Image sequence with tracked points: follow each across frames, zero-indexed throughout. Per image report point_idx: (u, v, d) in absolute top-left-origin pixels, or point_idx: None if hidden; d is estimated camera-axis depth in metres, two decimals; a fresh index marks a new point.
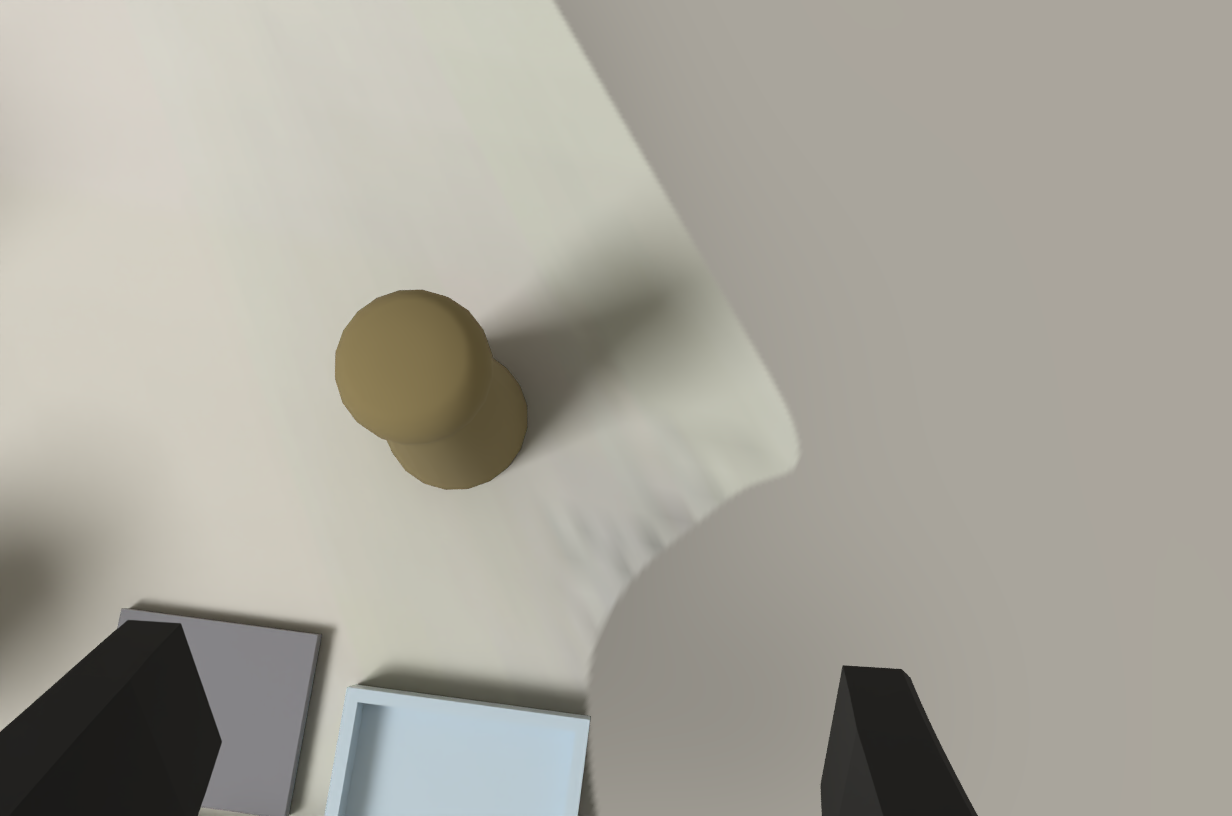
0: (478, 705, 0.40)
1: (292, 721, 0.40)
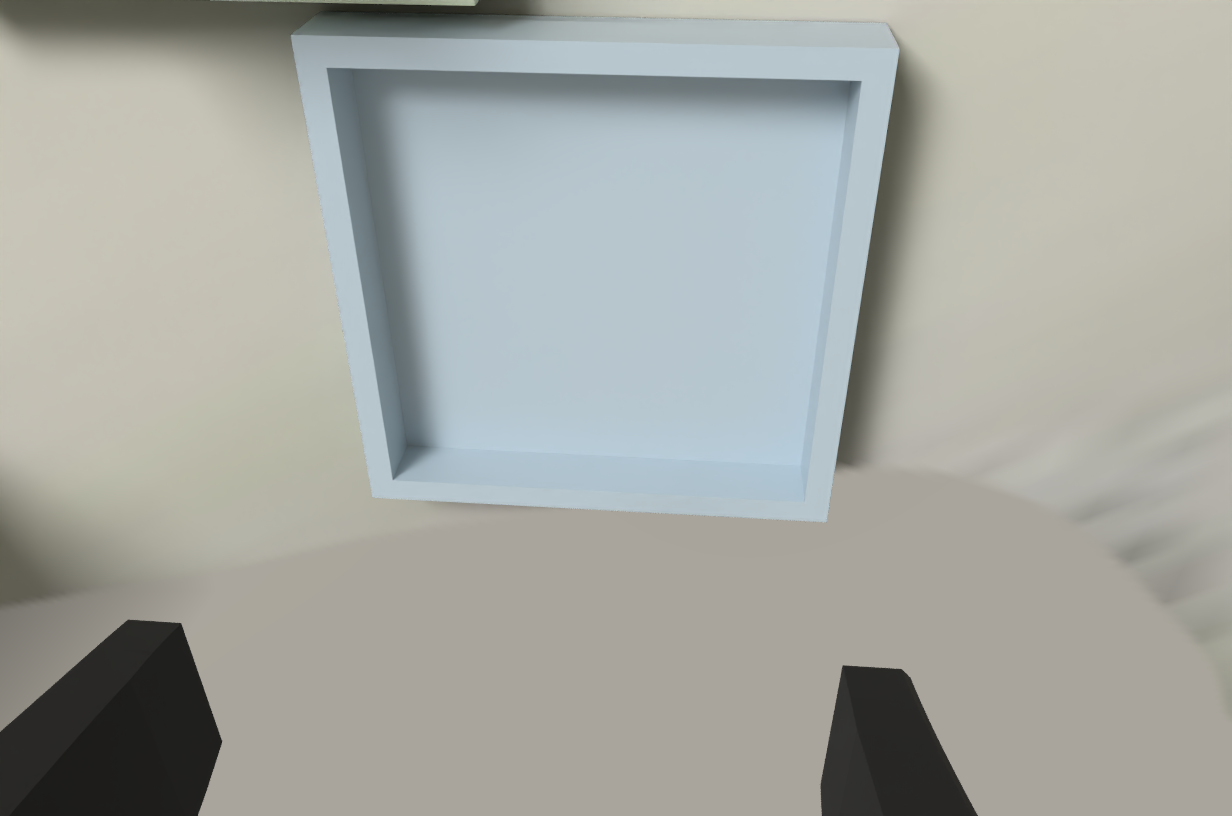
0: (852, 338, 0.19)
1: None
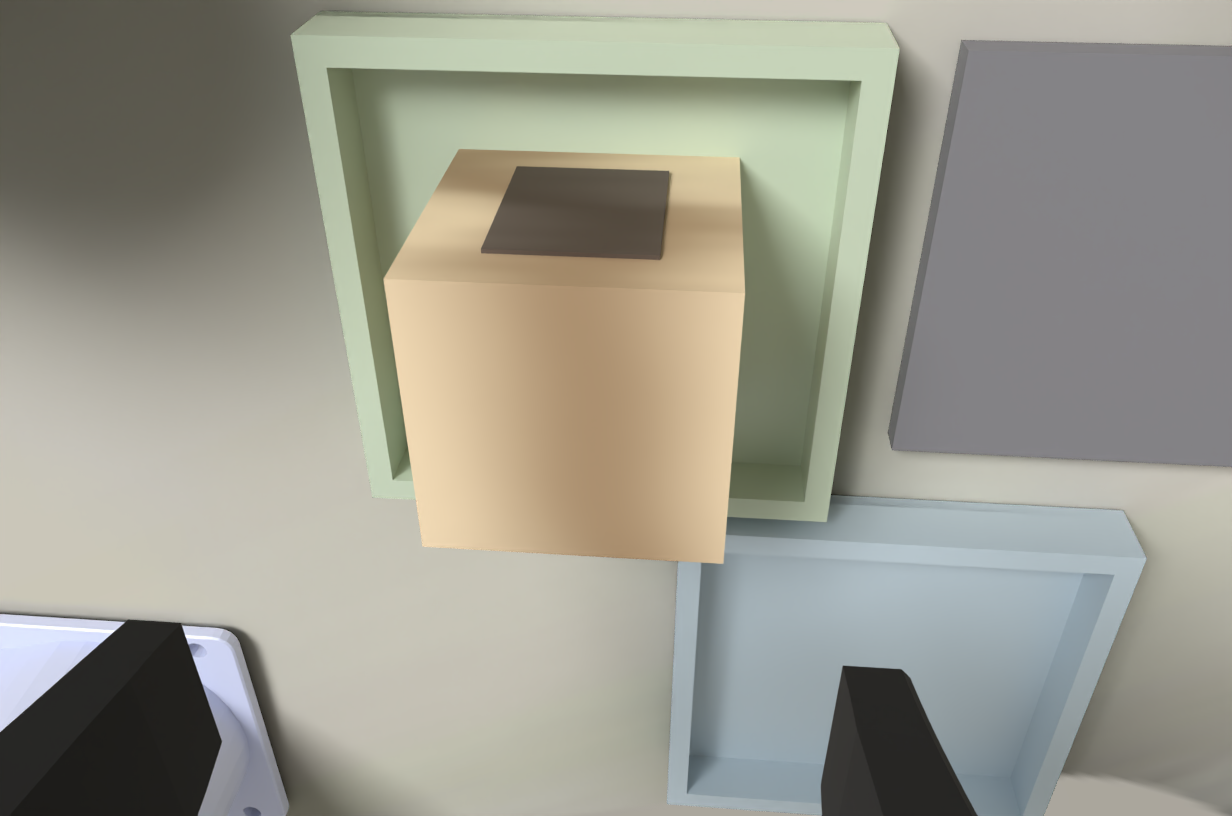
0: (1079, 719, 0.24)
1: (1077, 445, 0.20)
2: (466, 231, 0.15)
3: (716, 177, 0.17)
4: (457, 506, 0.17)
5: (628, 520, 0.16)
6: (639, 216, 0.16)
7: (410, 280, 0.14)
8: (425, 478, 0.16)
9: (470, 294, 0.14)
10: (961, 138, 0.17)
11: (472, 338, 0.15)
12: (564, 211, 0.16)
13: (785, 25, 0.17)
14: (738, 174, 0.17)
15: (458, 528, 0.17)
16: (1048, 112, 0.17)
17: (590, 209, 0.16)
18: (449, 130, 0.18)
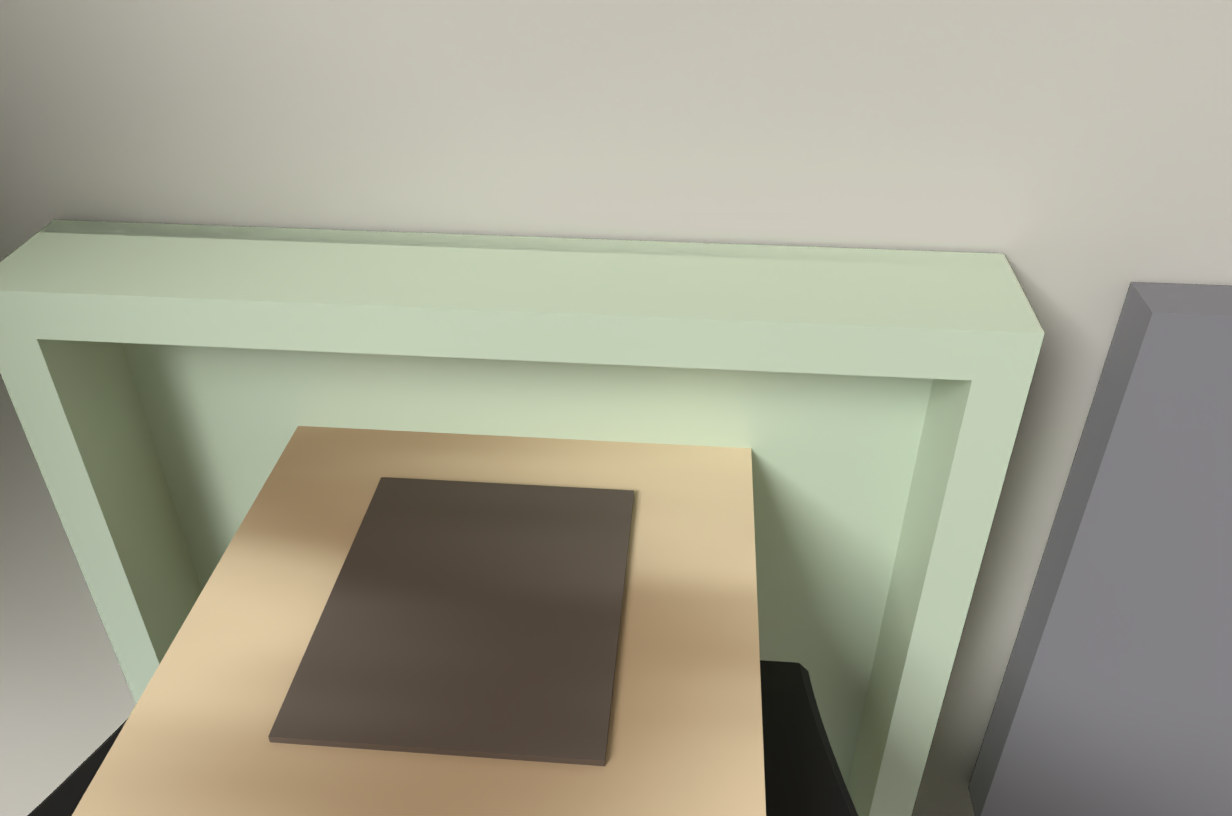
0: None
1: None
2: (258, 667, 0.09)
3: (713, 503, 0.10)
4: None
5: None
6: (574, 627, 0.09)
7: None
8: None
9: None
10: (1126, 440, 0.10)
11: None
12: (442, 612, 0.09)
13: (831, 261, 0.10)
14: (750, 495, 0.10)
15: None
16: None
17: (489, 607, 0.09)
18: (279, 400, 0.11)
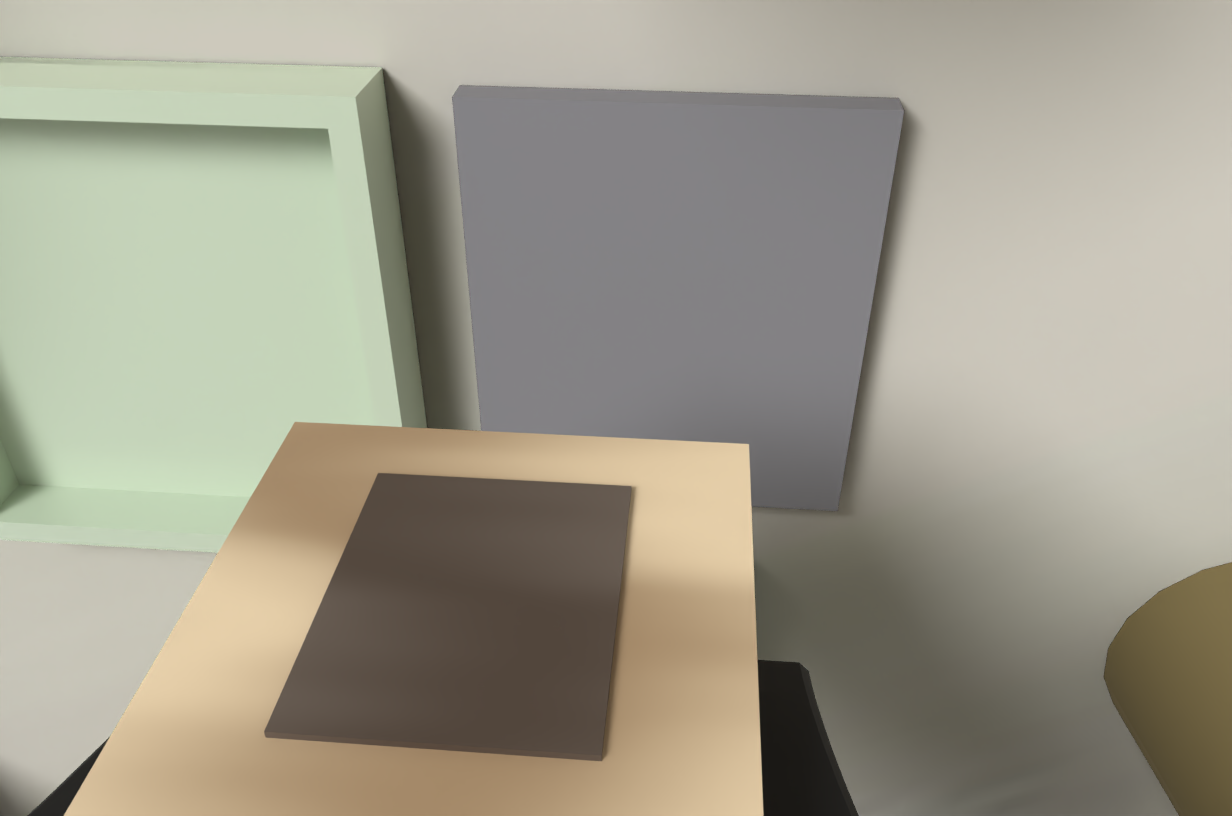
0: None
1: None
2: (253, 663, 0.08)
3: (710, 499, 0.10)
4: None
5: None
6: (571, 622, 0.09)
7: None
8: None
9: None
10: (469, 184, 0.17)
11: None
12: (438, 607, 0.09)
13: (274, 70, 0.16)
14: (747, 490, 0.10)
15: None
16: (547, 158, 0.17)
17: (485, 602, 0.09)
18: None
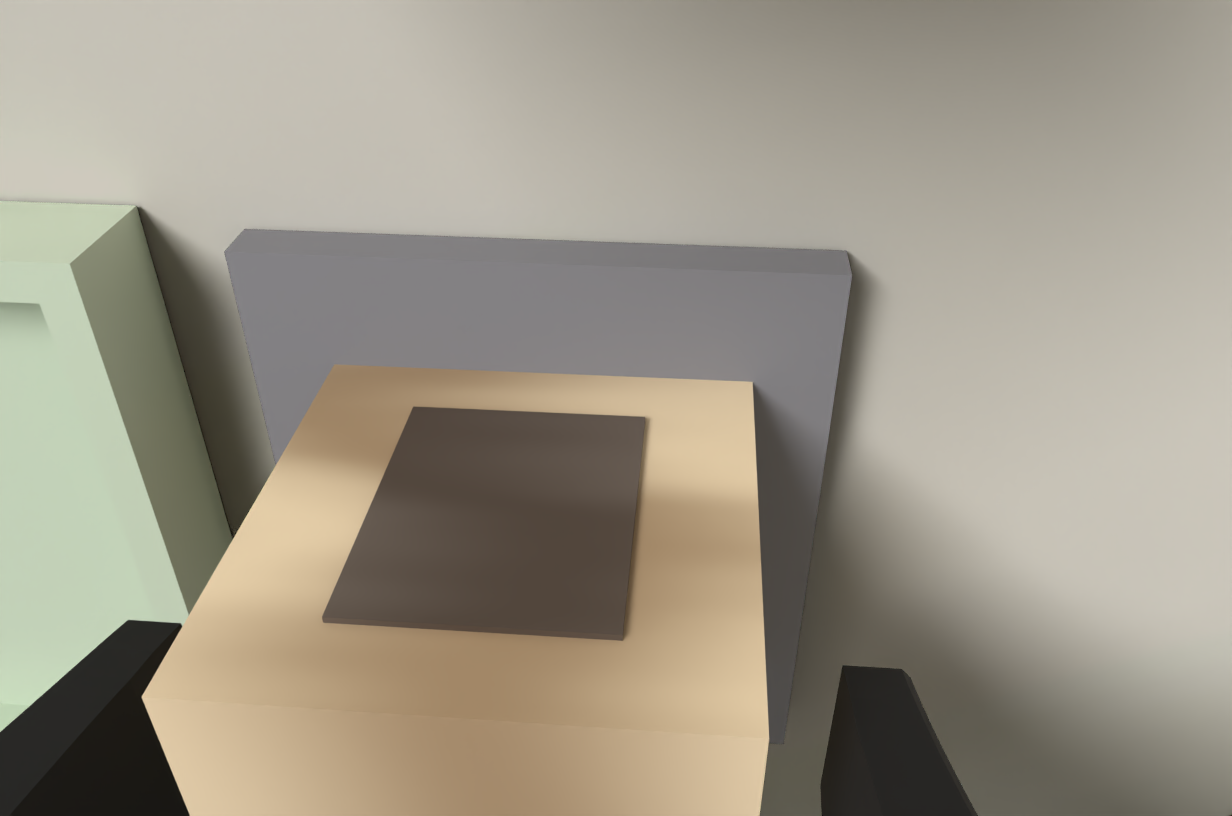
0: None
1: None
2: (307, 563, 0.09)
3: (717, 428, 0.11)
4: None
5: None
6: (593, 529, 0.10)
7: (188, 699, 0.08)
8: None
9: (292, 722, 0.08)
10: (262, 360, 0.12)
11: (305, 777, 0.09)
12: (473, 517, 0.10)
13: None
14: (751, 420, 0.11)
15: None
16: (364, 330, 0.12)
17: (517, 512, 0.10)
18: None
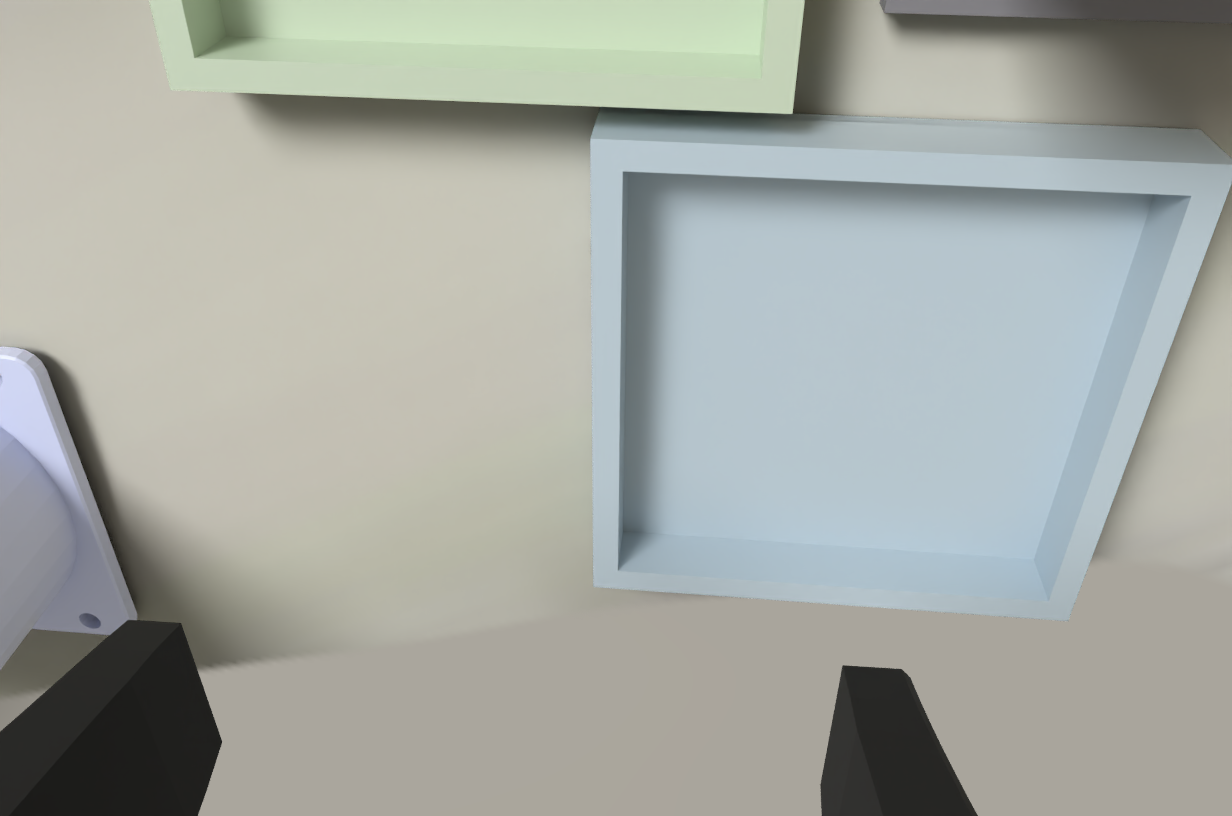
0: (1130, 444, 0.18)
1: None
2: None
3: None
4: None
5: None
6: None
7: None
8: None
9: None
10: None
11: None
12: None
13: None
14: None
15: None
16: None
17: None
18: None
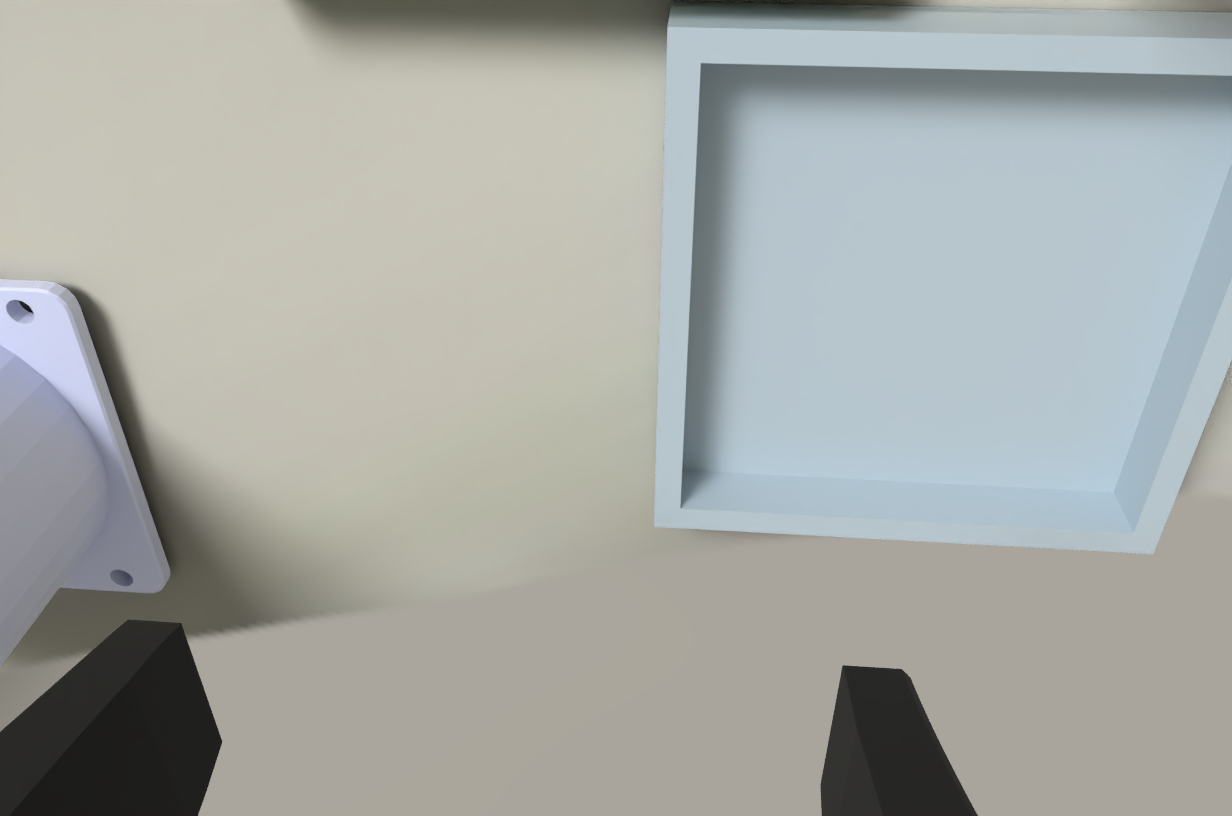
0: (1228, 358, 0.17)
1: None
2: None
3: None
4: None
5: None
6: None
7: None
8: None
9: None
10: None
11: None
12: None
13: None
14: None
15: None
16: None
17: None
18: None
